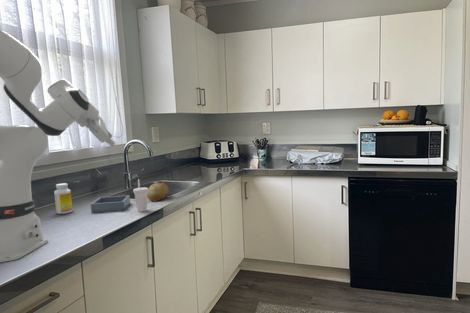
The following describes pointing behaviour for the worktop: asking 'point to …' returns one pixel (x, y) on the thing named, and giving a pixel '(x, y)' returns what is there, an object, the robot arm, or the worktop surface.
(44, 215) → the worktop surface
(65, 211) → the supplement bottle
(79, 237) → the worktop surface
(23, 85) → the robot arm
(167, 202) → the worktop surface
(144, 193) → the smoothie
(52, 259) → the worktop surface
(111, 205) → the tray
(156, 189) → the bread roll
